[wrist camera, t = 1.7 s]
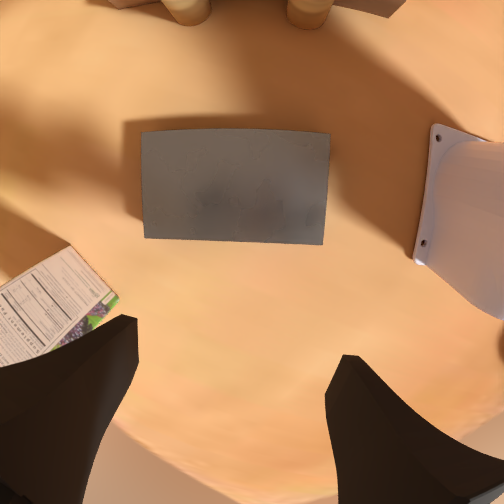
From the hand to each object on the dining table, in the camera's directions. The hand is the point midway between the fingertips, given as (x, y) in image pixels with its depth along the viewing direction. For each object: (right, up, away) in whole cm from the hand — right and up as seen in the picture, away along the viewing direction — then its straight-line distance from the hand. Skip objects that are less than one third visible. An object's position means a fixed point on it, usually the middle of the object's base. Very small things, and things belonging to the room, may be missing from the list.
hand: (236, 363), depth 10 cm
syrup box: (-13, +1, +11) cm, 17 cm away
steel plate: (0, +8, +8) cm, 11 cm away
